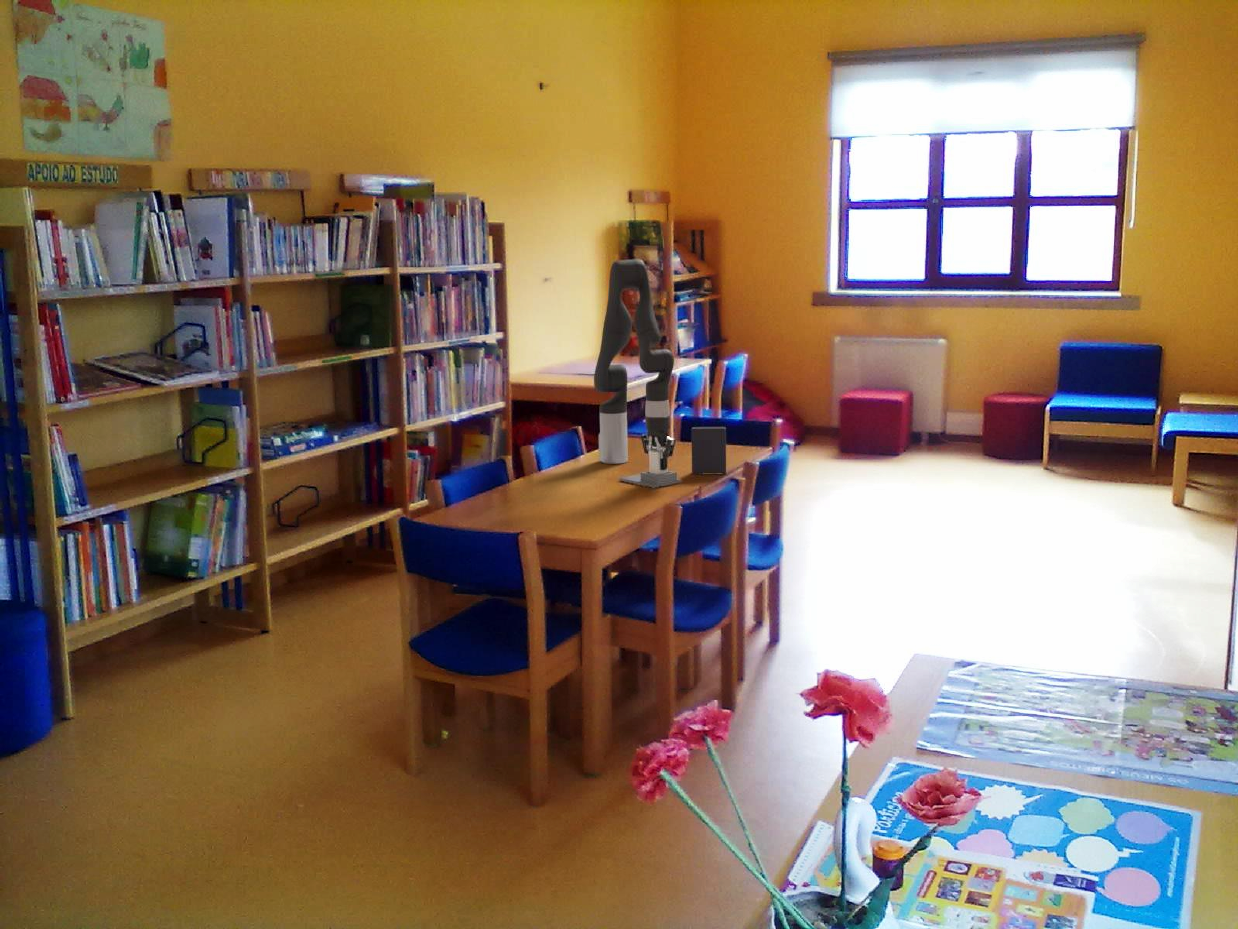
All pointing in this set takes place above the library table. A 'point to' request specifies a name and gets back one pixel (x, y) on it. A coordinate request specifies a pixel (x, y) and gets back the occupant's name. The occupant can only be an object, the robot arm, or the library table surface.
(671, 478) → the grey base with socket
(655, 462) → the charger
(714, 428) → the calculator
